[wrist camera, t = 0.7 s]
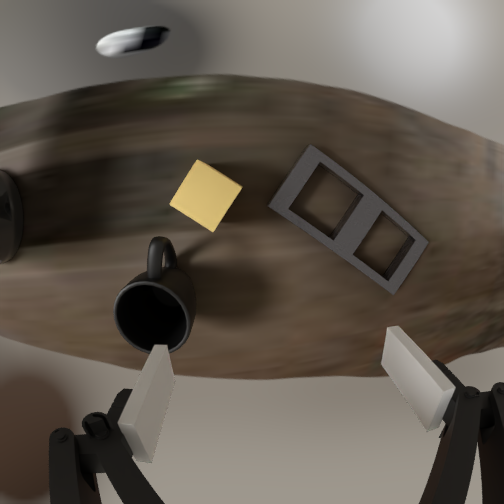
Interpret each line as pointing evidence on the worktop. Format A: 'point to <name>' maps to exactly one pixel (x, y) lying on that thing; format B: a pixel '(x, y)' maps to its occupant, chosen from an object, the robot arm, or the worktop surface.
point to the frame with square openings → (349, 219)
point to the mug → (157, 302)
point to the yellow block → (205, 195)
